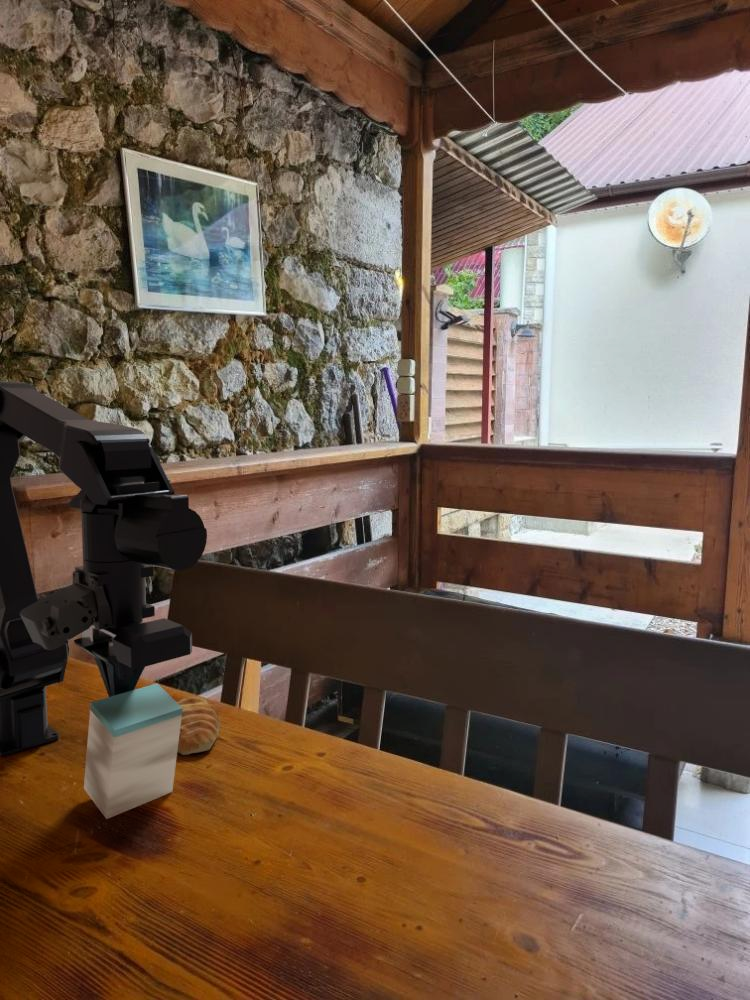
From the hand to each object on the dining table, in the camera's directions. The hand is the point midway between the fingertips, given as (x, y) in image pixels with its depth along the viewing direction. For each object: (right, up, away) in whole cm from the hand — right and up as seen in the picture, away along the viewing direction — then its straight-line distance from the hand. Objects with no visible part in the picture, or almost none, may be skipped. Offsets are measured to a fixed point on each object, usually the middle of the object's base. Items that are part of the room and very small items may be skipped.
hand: (119, 707), depth 72 cm
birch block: (+1, -8, 0) cm, 8 cm away
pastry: (+4, -8, +13) cm, 16 cm away
